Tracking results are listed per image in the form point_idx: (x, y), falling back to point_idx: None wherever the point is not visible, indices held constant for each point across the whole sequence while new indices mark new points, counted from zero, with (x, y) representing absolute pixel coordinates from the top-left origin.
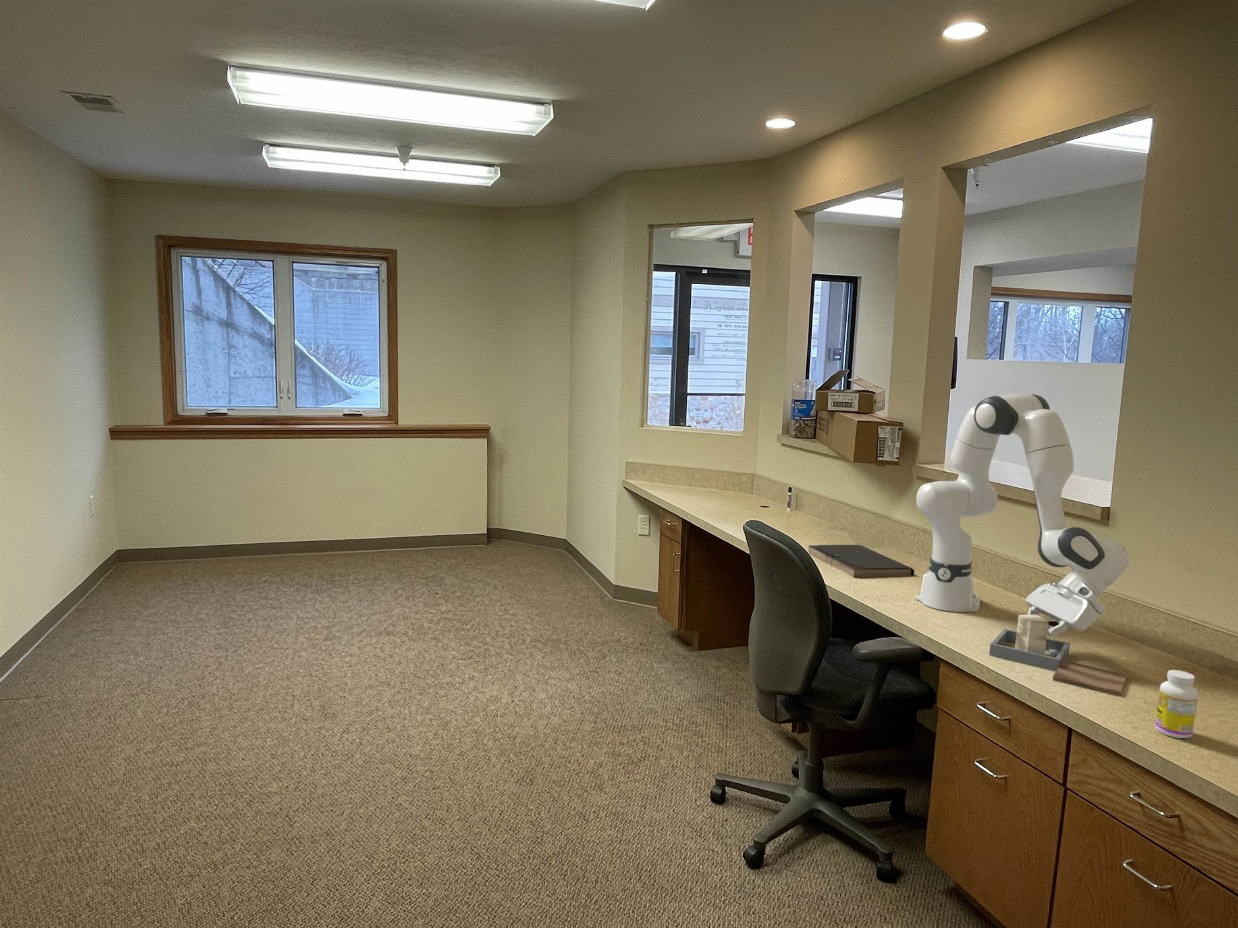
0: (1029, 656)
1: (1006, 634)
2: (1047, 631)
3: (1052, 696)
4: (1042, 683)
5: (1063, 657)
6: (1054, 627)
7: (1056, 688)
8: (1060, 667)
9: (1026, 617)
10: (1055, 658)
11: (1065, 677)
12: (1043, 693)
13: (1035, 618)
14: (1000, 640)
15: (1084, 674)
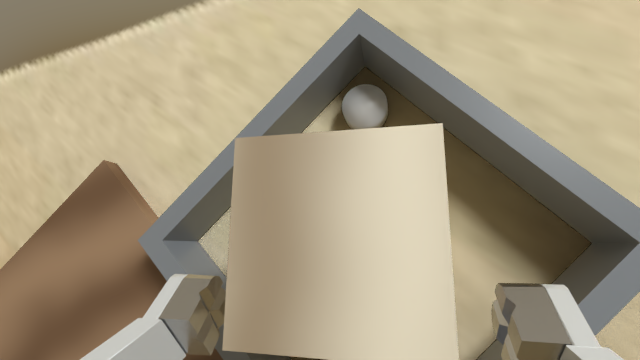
0: None
1: (598, 224)
2: (206, 276)
3: (28, 85)
4: (102, 108)
5: None
6: (145, 324)
7: (64, 132)
8: None
9: (343, 159)
10: (155, 233)
11: (85, 200)
12: (48, 70)
13: (308, 246)
14: (453, 112)
15: (91, 307)
